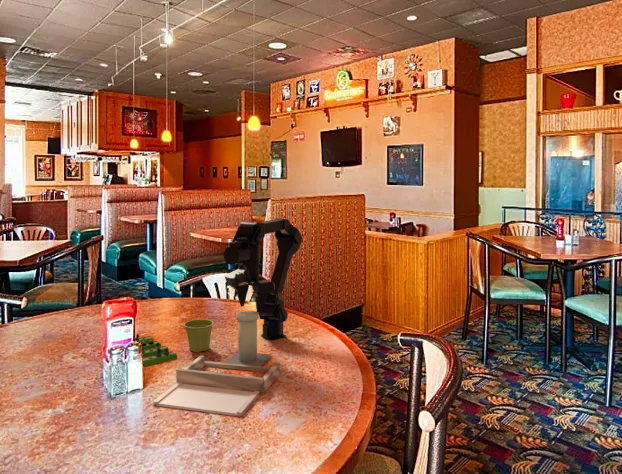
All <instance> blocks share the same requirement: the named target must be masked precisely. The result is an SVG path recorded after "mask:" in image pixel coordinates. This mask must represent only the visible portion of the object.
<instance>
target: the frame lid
mask: <svg viewBox="0 0 622 474" xmlns="http://www.w3.org/2000/svg"><path fill="white" fill-rule="evenodd" d="M259 396H260V394H259V391H254V392H249V391H240V390H231V389H223V388H214V387H206V386H197V385H189V384H182V382H177V381H176V383H174V384H173V385H172V386H171V387H169V388H168V389H167V390H166V391H164V392H163V393H162V394H160V395H159V396H158V397H156V399H154V400H153V402H152V404H153V406H156V407H157V406H158V407H166V408H172V409H180V410H189V411H195V412H203V413H210V414H212V413H213V414H219V415H227V416H234V417H240V418H241V417H243V415H244V414H245V413H246V412H247V411H248V410H249V408H250V407H251V406H252V404H253V403H254V402H255V401H256V400H257V399H258V397H259Z"/></svg>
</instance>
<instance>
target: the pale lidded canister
mask: <svg viewBox="0 0 622 474" xmlns="http://www.w3.org/2000/svg"><path fill="white" fill-rule="evenodd" d="M235 315H236V316H235V317H236V318H235V319H236V320H237V332H238V337H237V338H238V339H237V340H238V341H237V342H238V344H237V345H238V346H237V347H238V348H237V349H238V353H239V361H242V362H253V361H255V360H257V353H258V321H259V320H260V318H259V313H258V312H257V310H256V311H255V310H243V311H242V310H241V311H238V312H236V314H235Z"/></svg>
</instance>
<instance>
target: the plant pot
mask: <svg viewBox="0 0 622 474" xmlns="http://www.w3.org/2000/svg"><path fill="white" fill-rule="evenodd" d="M214 322H215V321H214V320H211V319H204V318H203V319H202V318H201V319H199V318H198V319H191V320H188V321H185V322H184V323H183V327H184V328H185V331H186V336H187V341H188V347H189V350H190V351H191V352H193V353H200V352H202V351H203V352H206V351H208V350H209V349H210V346H211V345H210V343H211V335H212V329H213V326H214V324H215V323H214Z"/></svg>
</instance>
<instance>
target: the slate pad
mask: <svg viewBox="0 0 622 474" xmlns="http://www.w3.org/2000/svg"><path fill="white" fill-rule="evenodd" d="M271 357H272V354H270V353H261V352H260V353H259V352H257V360H255V361H253V362H242V361H239V353H238V351H236V352H235V353H233V354H232V355H231V357H229V358H228V359H227V360H226V361H225V362H224V363H231V364H240V365H250V366H260V367H264V365H265V364H266V363H267V362H268V361H269V359H270V358H271Z"/></svg>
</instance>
